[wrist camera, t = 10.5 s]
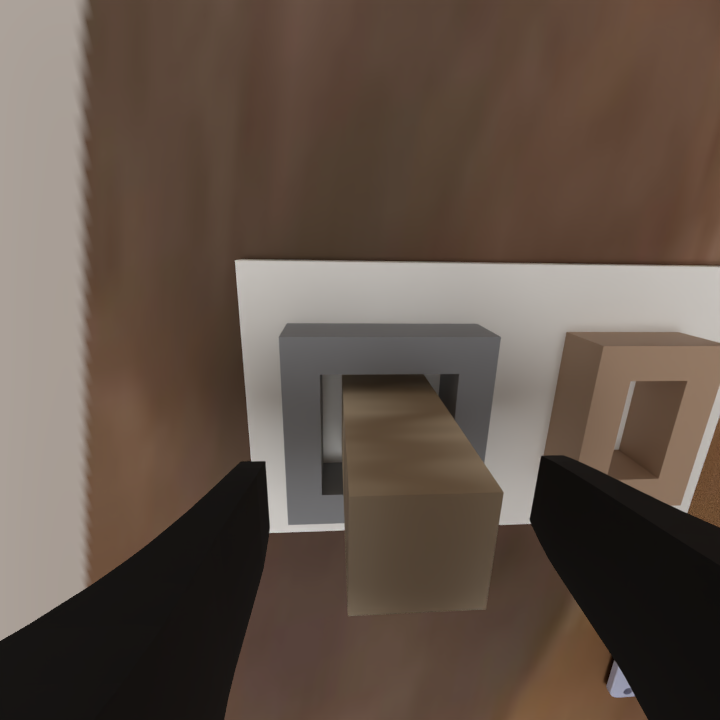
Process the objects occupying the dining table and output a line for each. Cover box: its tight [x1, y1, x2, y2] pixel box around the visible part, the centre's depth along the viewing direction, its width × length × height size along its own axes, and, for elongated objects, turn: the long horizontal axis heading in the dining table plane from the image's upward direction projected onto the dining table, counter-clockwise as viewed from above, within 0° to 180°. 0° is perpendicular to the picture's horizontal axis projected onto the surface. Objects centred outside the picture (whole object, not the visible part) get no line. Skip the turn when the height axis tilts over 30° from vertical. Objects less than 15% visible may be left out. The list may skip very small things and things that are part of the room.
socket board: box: [235, 259, 720, 533], centre depth 14 cm, size 19×11×3 cm, turn 89°
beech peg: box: [342, 374, 504, 616], centre depth 11 cm, size 3×3×7 cm
